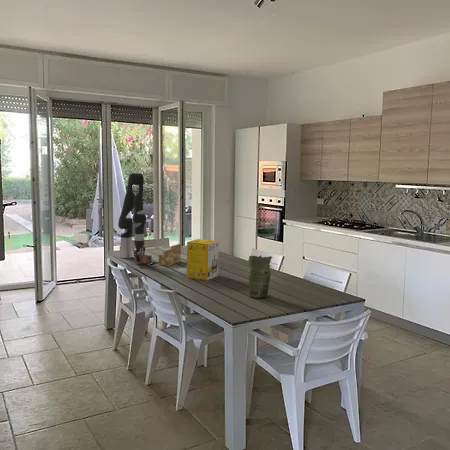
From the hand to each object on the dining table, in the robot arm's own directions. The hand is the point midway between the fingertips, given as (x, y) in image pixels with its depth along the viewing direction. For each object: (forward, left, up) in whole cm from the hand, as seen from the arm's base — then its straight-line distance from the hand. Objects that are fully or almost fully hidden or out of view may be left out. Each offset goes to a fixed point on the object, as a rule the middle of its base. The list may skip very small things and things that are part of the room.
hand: (139, 260), depth 359 cm
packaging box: (+62, -13, -3) cm, 63 cm away
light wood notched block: (+19, +15, -3) cm, 24 cm away
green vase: (+114, -41, -3) cm, 121 cm away
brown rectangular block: (+3, 0, -1) cm, 3 cm away
